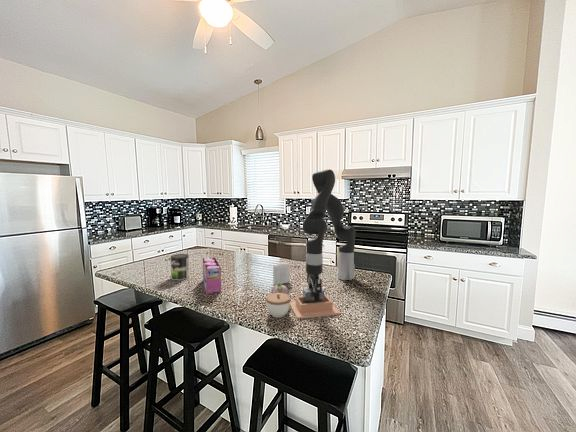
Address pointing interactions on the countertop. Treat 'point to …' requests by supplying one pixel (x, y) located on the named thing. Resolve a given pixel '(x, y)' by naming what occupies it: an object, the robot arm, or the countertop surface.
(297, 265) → the countertop surface
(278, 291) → the decorative fruit
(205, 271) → the gum box
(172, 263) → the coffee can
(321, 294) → the grey rectangular block
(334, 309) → the caddy
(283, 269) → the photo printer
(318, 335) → the countertop surface
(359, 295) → the countertop surface
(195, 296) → the countertop surface
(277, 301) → the lidded jar
